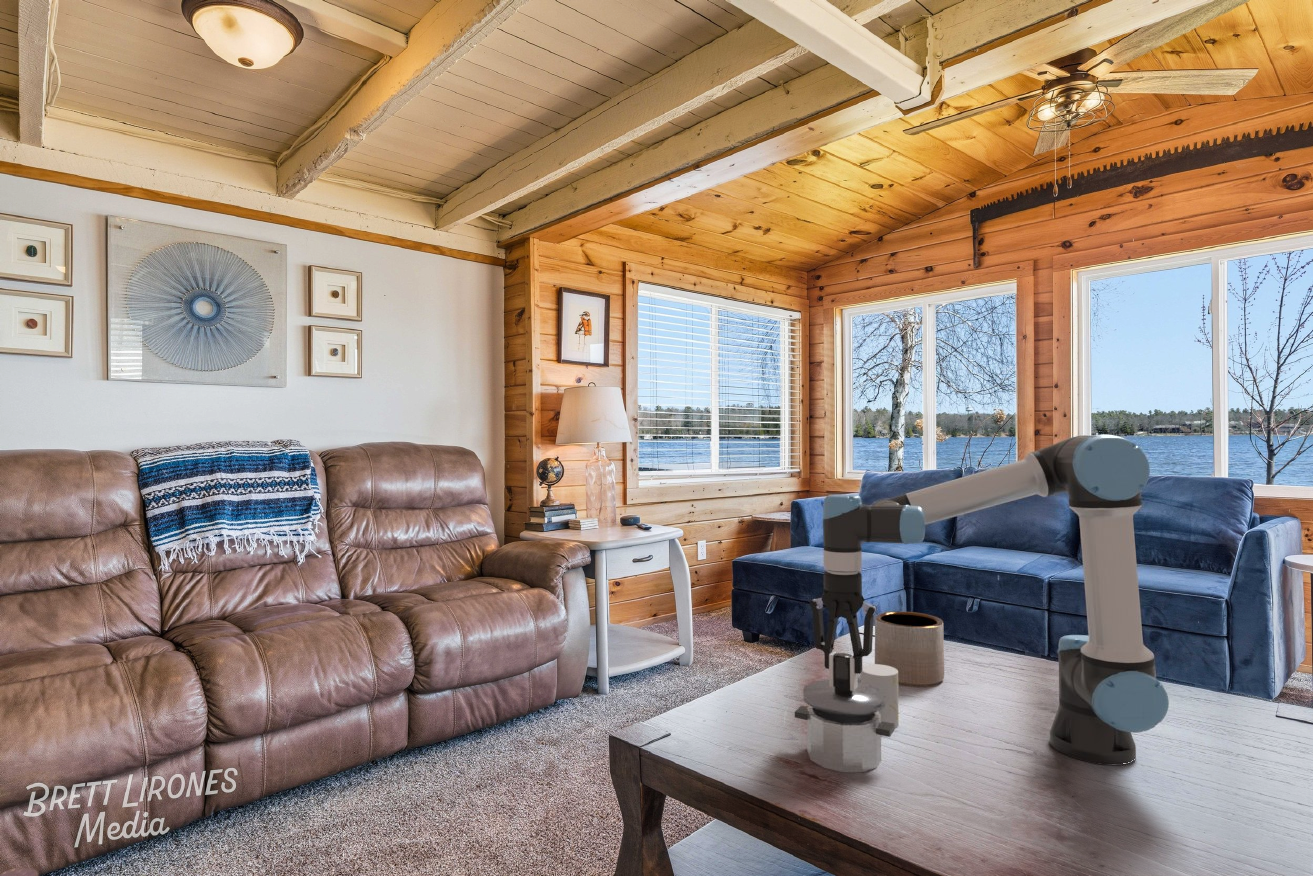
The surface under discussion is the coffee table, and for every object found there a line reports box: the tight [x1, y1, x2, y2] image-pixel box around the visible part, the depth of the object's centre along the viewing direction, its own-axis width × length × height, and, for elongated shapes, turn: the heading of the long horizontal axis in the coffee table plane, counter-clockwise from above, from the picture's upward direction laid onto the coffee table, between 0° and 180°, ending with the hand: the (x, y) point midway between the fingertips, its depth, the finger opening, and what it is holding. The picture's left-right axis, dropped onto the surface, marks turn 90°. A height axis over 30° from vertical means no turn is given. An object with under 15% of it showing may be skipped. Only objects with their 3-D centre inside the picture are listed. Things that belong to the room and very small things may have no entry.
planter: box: [874, 611, 945, 687], centre depth 192 cm, size 18×18×16 cm
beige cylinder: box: [860, 663, 900, 729], centre depth 161 cm, size 8×8×12 cm
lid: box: [802, 652, 885, 715], centre depth 144 cm, size 16×16×9 cm
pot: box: [794, 705, 895, 773], centre depth 144 cm, size 19×14×9 cm
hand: (843, 686), depth 144 cm, fingers closed on lid, 3 cm apart
